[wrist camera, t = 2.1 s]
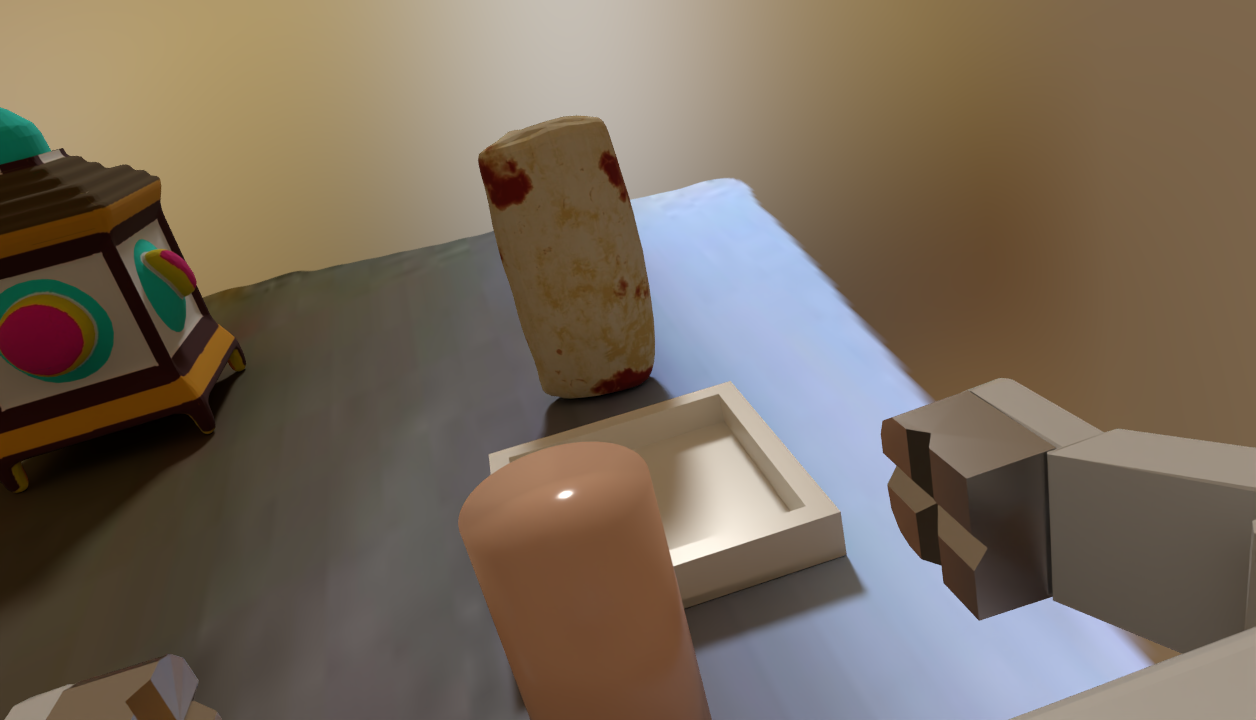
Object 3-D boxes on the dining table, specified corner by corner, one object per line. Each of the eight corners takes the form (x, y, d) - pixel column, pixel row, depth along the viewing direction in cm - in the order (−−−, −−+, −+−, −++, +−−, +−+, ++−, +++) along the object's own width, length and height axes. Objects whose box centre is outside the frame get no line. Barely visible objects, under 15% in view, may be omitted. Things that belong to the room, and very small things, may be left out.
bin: (521, 662, 37) (506, 620, 36) (500, 487, 52) (488, 454, 51) (846, 554, 39) (840, 511, 38) (736, 414, 53) (730, 381, 52)
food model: (545, 422, 59) (461, 146, 51) (544, 384, 65) (469, 132, 57) (676, 389, 59) (613, 108, 51) (663, 354, 65) (604, 99, 57)
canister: (594, 932, 26) (460, 583, 20) (570, 786, 31) (457, 475, 25) (758, 871, 26) (671, 515, 21) (708, 737, 31) (627, 423, 26)
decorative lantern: (72, 414, 85) (-92, 126, 73) (264, 357, 88) (136, 71, 76) (-16, 512, 67) (-253, 149, 55) (229, 435, 70) (55, 76, 58)
